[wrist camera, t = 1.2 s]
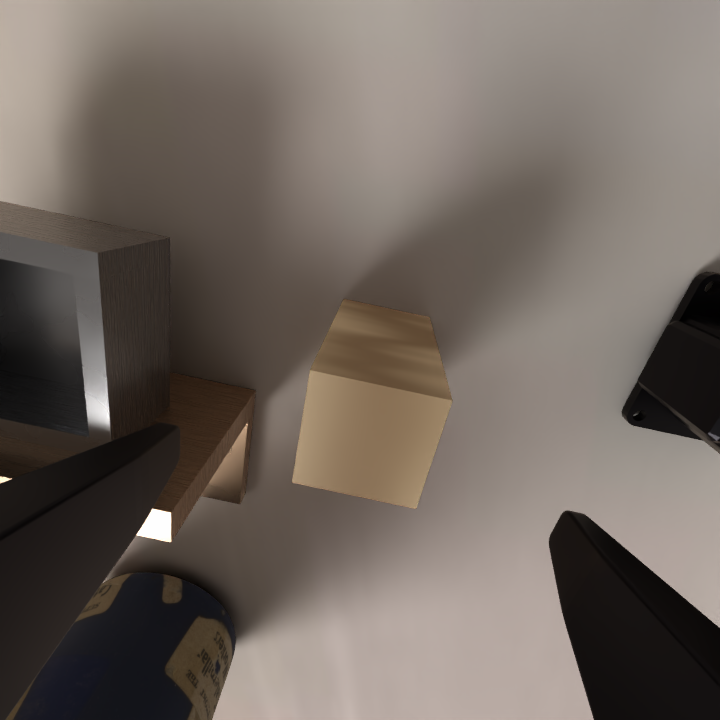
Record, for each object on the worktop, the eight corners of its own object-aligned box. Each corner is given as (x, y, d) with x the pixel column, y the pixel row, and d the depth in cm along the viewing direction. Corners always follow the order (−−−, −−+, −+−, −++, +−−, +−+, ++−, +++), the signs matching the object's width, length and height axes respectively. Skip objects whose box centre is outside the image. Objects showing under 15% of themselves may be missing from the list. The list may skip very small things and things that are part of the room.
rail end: (429, 317, 16) (452, 400, 10) (408, 393, 18) (416, 509, 11) (343, 298, 16) (310, 370, 10) (329, 376, 18) (291, 482, 11)
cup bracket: (270, 245, 15) (170, 288, 9) (245, 492, 21) (170, 643, 14) (-30, 180, 15) (-371, 172, 9) (20, 445, 21) (-169, 572, 14)
